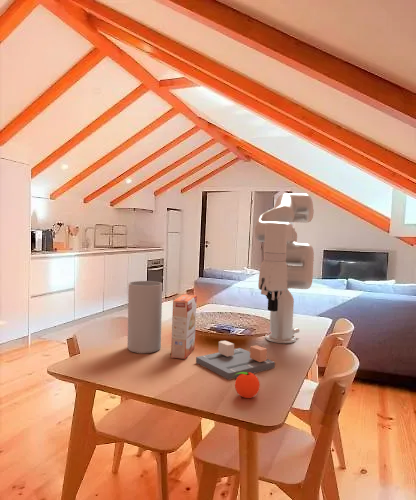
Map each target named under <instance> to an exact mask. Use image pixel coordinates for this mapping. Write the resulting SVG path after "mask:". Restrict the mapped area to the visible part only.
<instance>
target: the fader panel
mask: <svg viewBox="0 0 416 500" xmlns="http://www.w3.org/2000/svg"><path fill="white" fill-rule="evenodd" d="M195 363H196V364H198V365H199V364H200V365H199V366H202V367H204V368H205V367H206V369H207V368H208V370H209V369H210V371H211V372H214V373H215V374H217V375H219V376H221V377H222V378H225V379H227V380H230V381H231V380H233V379H237V377H238V376H239V375H240V374H237V373H239V372H250V373H253V374H256V373H260V372H264V371H268V370H270V369H274V368H275V367H276V366H275V365H276V362H275V361H274V360H271V359H268V358H267V361H263V362H258V361H256V360H254V359H251V358H250V350H246V349H243V348H241V347H238V348H234V355H233V356H228V357H227V356H224V355H222V354H220V353H218V352H215V353H209V354H205V355H200V356H196V357H195ZM235 374H236V375H235ZM233 376H234V377H233Z"/></svg>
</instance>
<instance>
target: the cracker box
mask: <svg viewBox="0 0 416 500" xmlns="http://www.w3.org/2000/svg"><path fill="white" fill-rule="evenodd" d="M197 299H198V296H197V294H185V293H184V294H182V295H180V296H178V297H177V298H175V299H174V300H173V301H172V318H171V319H172V323H171V343H170V344H171V345H170V347H171V348H170V349H171V350H170V358H173V359H181V360H186V359H187V358H188V357H189V355H190V354H191V353H192V352H193V350H194V349H195V343H196V341H195V339H196V324H197V323H196V321H197V318H196V317H197V301H198V300H197Z"/></svg>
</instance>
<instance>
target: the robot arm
mask: <svg viewBox="0 0 416 500" xmlns="http://www.w3.org/2000/svg"><path fill="white" fill-rule="evenodd" d="M314 212H315V211H314V204H313V199H312V197H311V196H310V195H309V194H308V193H301V192H300V193H295V192H293V193H292V192H291V193H290V192H289V193H282V194H281V195H279V196H278V197H277V199H276V201H275V204H274V205H273V208H272V209H268V210H267V211H264V212H263V213H262V214H260V215H259V216H258V218H257V221H256V224H255V227H254V237H255V239H256V241H258V242H259V243H264V244H263V245H264V246H263V247H264V248H263V261H261V265H260V268H259V274H258V275H259V276H258V289H259V290H260V294H261V295H264V296H265V298H266V299H267V311H269V314H270V315H269V332H270V331H271V332H272V333H271V334H270V335H268V336H266V335H265V339H266V340H267V341H269V342H272V343H275V344H277V343H278V344H292V343H295V342H296V340H297V338H296V336H295V335H296V334H299V333H300V329H299V328H298V327H297V328H294V327H293V326H294V308H295V307H294V306H295V304H294V303H295V301H294V296H293V294H292V293H291V292H290V290H289V289H295V290H309V289H311V286H312V285H313V278H314V277H313V276H314V261H315V260H314V255H315V254H314V253H315V252H314V248H313V246H312V245H311V244H310V243H305V242H304V243H303V242H302V243H301V242H298V232H297V231H296V228H295V226H294V225H293V224H292V223H306V224H307V223H309V222H312V220H313V218H314Z"/></svg>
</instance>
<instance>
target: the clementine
mask: <svg viewBox="0 0 416 500" xmlns="http://www.w3.org/2000/svg"><path fill="white" fill-rule="evenodd" d="M237 374H240V375H239V376H238V377H237V378H235V382H234V389H235V391H236V393H237V394H238V395H239V396H240V397H242V398H244V399H252V398H253V397H256V395H257V394H258V392H260V387H261V384H260V380H259V378H258V377H257V376H256V374H255V373H250V372H239V373H237ZM235 375H236V374H235ZM233 377H234V376H233Z"/></svg>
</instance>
